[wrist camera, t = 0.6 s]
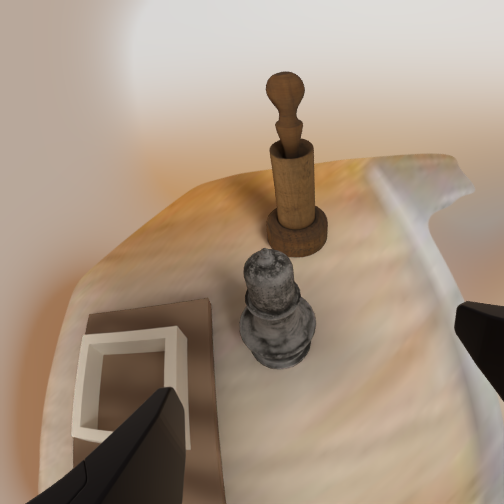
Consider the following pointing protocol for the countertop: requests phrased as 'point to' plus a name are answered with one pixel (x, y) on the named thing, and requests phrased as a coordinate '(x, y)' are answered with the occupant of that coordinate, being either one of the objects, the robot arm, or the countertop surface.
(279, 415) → the countertop surface
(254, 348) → the salt shaker
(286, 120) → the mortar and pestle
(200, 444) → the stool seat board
